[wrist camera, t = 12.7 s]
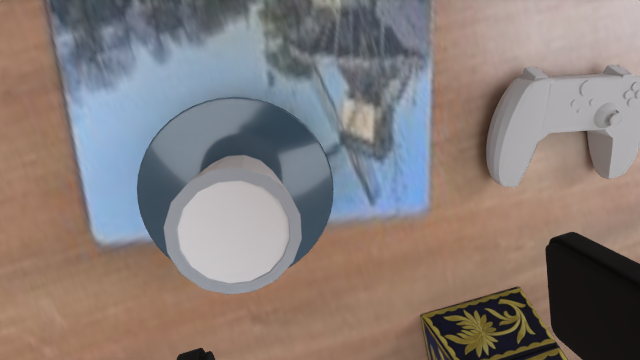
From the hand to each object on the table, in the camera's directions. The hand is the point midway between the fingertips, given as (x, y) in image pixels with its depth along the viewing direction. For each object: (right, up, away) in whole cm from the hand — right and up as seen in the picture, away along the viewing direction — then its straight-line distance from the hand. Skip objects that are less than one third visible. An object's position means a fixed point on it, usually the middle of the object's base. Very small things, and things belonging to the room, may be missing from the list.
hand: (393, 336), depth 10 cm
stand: (-8, +5, +22) cm, 24 cm away
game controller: (+19, +9, +26) cm, 33 cm away
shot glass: (-7, +3, +16) cm, 18 cm away
